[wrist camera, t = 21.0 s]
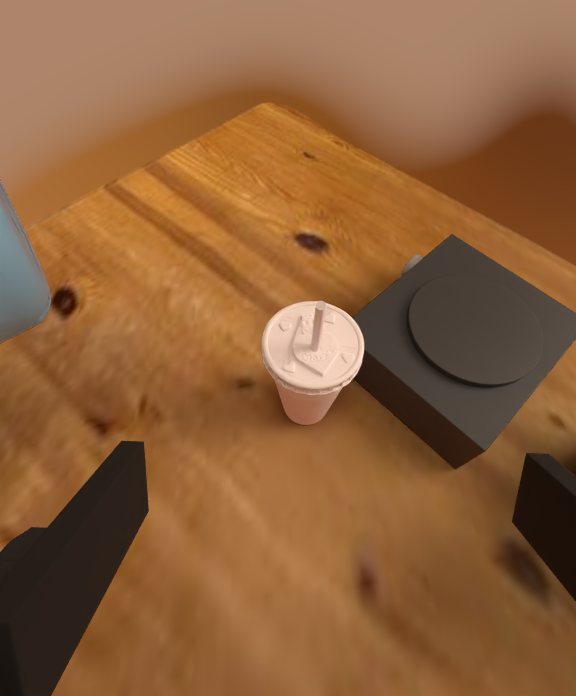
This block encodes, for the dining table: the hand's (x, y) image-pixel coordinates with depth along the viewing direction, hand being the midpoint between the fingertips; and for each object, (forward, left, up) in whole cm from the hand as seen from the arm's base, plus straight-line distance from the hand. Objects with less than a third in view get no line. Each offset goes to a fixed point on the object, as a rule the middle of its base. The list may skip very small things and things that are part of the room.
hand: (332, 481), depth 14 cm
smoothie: (-7, +7, -16) cm, 19 cm away
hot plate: (-2, +19, -16) cm, 25 cm away
